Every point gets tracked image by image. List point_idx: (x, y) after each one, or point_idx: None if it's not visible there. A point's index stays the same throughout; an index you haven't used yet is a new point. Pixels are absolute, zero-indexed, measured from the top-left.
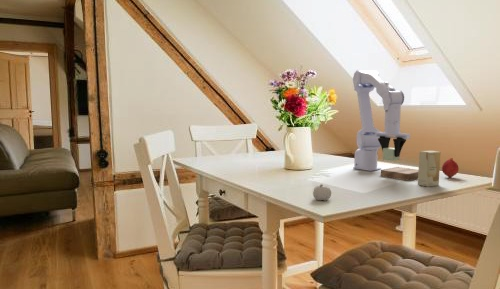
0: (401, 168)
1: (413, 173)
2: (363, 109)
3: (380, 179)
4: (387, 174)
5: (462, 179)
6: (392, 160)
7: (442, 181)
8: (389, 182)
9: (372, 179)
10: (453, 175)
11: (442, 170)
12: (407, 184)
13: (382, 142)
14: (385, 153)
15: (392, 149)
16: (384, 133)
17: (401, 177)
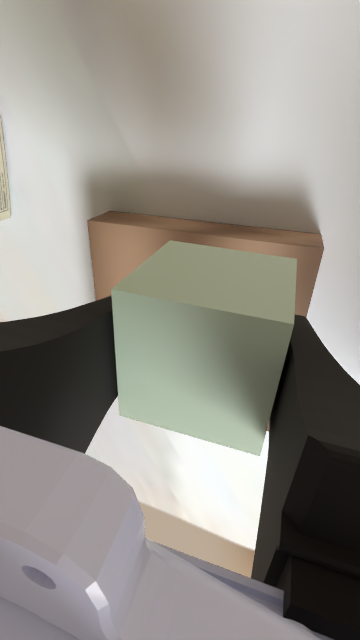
0: None
1: (95, 280)
2: None
3: (258, 88)
4: (257, 232)
5: None
6: (171, 242)
7: (18, 309)
8: (144, 22)
9: (316, 15)
10: None
11: None
12: (37, 73)
13: (315, 402)
14: (251, 282)
15: (123, 291)
16: (55, 543)
17: (148, 218)
